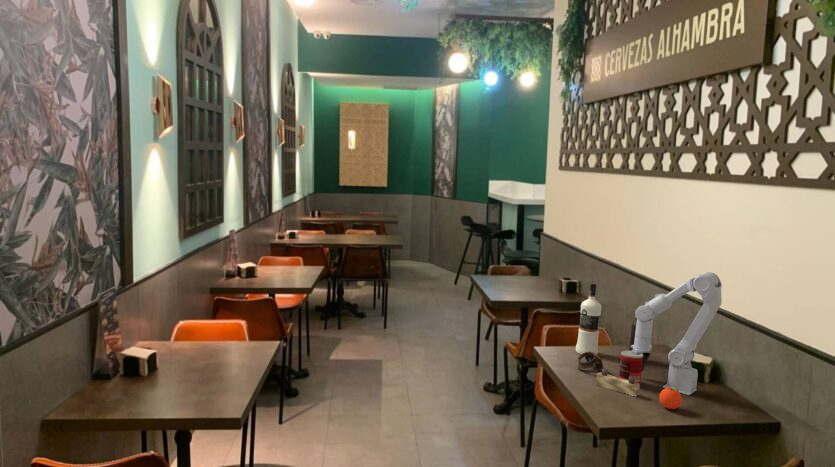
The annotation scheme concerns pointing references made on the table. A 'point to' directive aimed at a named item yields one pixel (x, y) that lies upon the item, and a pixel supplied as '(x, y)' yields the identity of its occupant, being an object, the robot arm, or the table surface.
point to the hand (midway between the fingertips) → (639, 371)
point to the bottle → (632, 334)
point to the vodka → (589, 324)
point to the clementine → (670, 398)
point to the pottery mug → (590, 361)
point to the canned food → (631, 366)
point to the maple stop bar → (617, 383)
